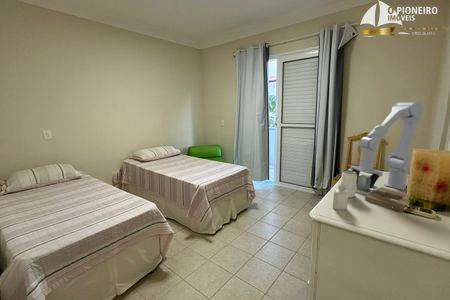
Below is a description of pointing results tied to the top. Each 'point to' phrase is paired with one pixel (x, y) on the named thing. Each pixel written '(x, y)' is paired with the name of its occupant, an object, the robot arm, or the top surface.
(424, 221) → the top surface
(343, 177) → the can
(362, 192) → the grey rectangular frame
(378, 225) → the top surface
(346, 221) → the top surface
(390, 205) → the pallet
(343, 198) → the eye dropper bottle
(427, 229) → the top surface
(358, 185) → the billet
